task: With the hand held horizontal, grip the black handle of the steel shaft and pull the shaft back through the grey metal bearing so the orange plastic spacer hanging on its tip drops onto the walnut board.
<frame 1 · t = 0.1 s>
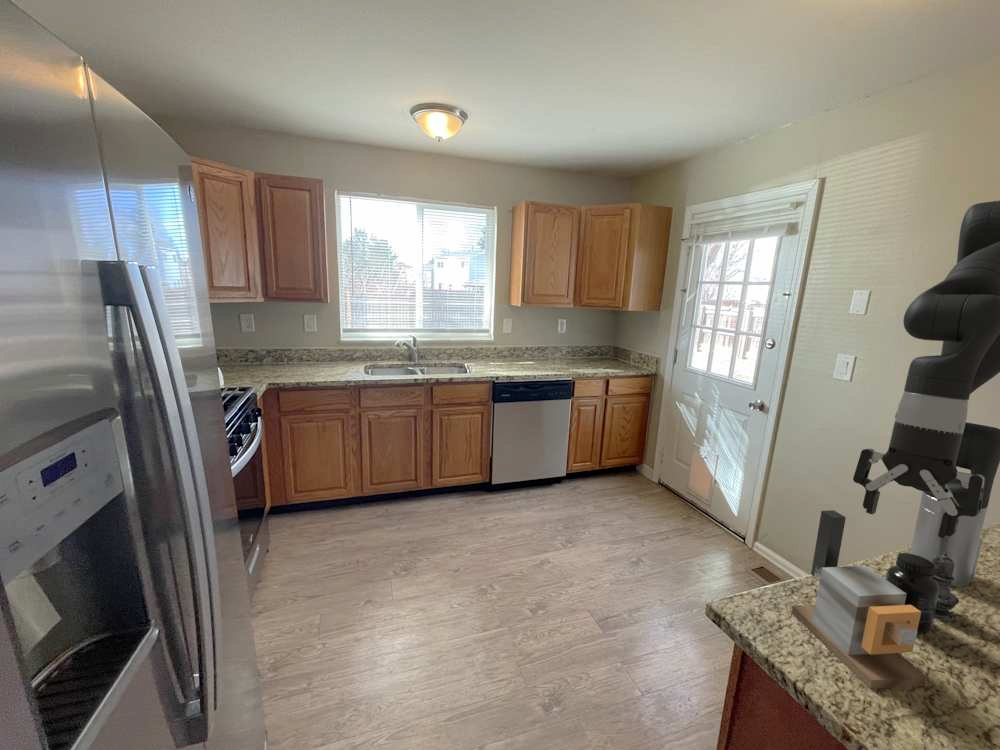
hand: (904, 524, 67), 22 cm above the countertop, tool pointing down, fingers open, 8 cm apart
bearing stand: (851, 645, 71), on the countertop
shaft: (863, 571, 69), point 14 cm above the countertop, slide at 0.0 cm, touching spacer
spacer: (886, 649, 65), point 4 cm above the countertop, touching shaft
supplement bottle: (904, 620, 77), on the countertop
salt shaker: (932, 610, 80), on the countertop
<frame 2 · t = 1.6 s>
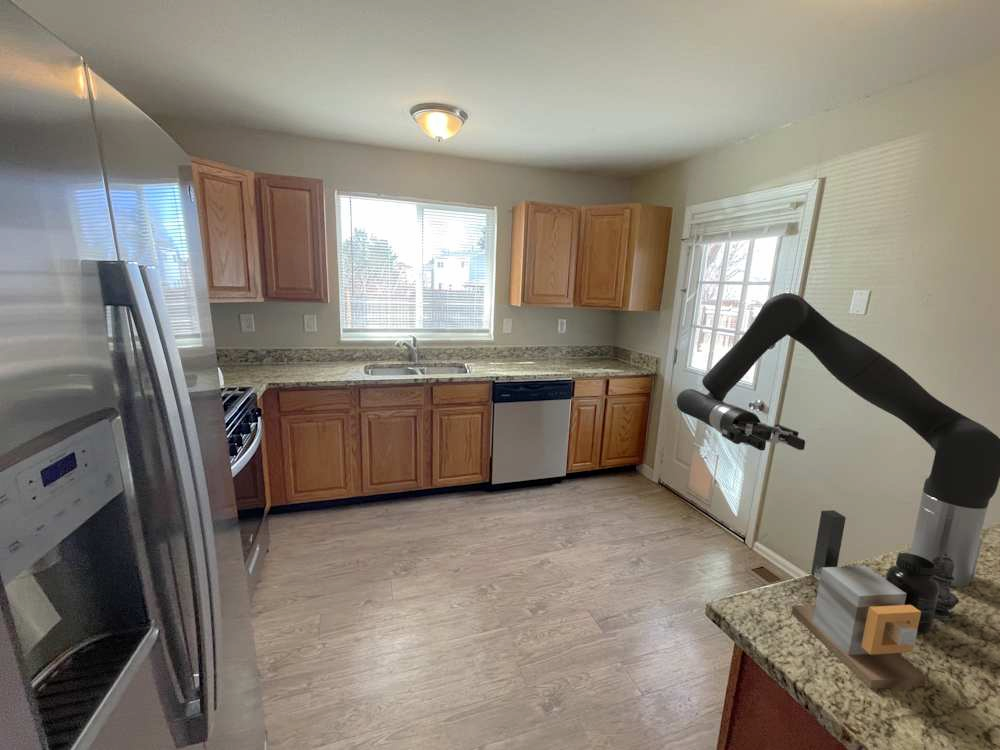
hand: (783, 445, 86), 28 cm above the countertop, tool horizontal, fingers open, 8 cm apart
nothing on the countertop moved.
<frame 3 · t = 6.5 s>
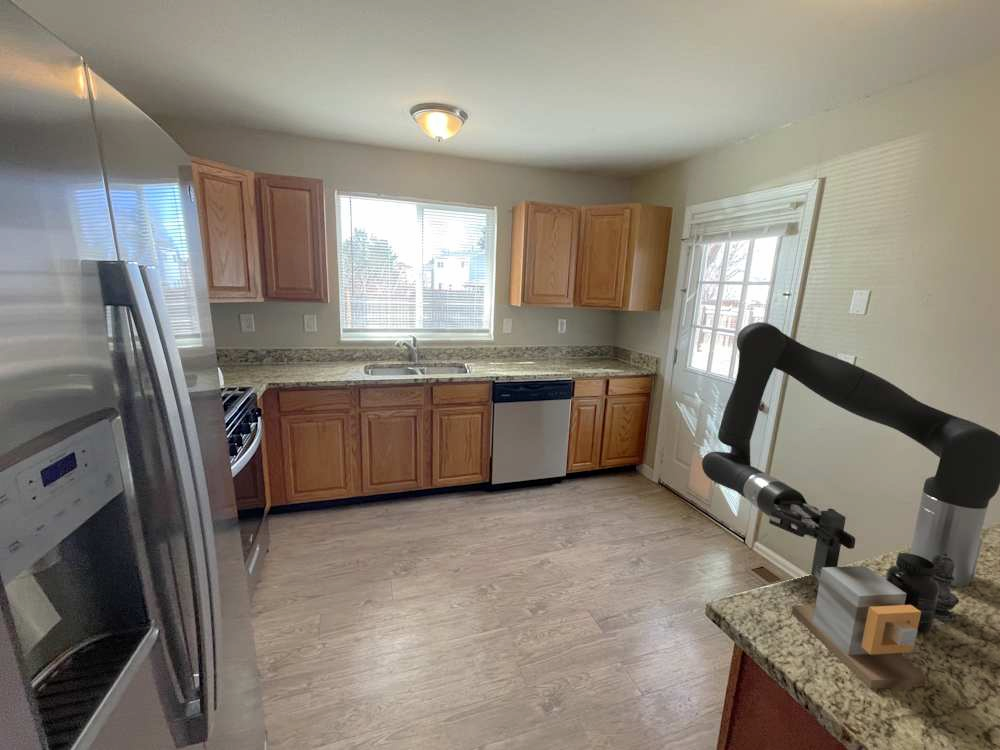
hand: (844, 544, 73), 16 cm above the countertop, tool horizontal, fingers closed on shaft, 2 cm apart
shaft: (863, 571, 69), point 14 cm above the countertop, slide at 0.0 cm, touching gripper, spacer
everything else where it was.
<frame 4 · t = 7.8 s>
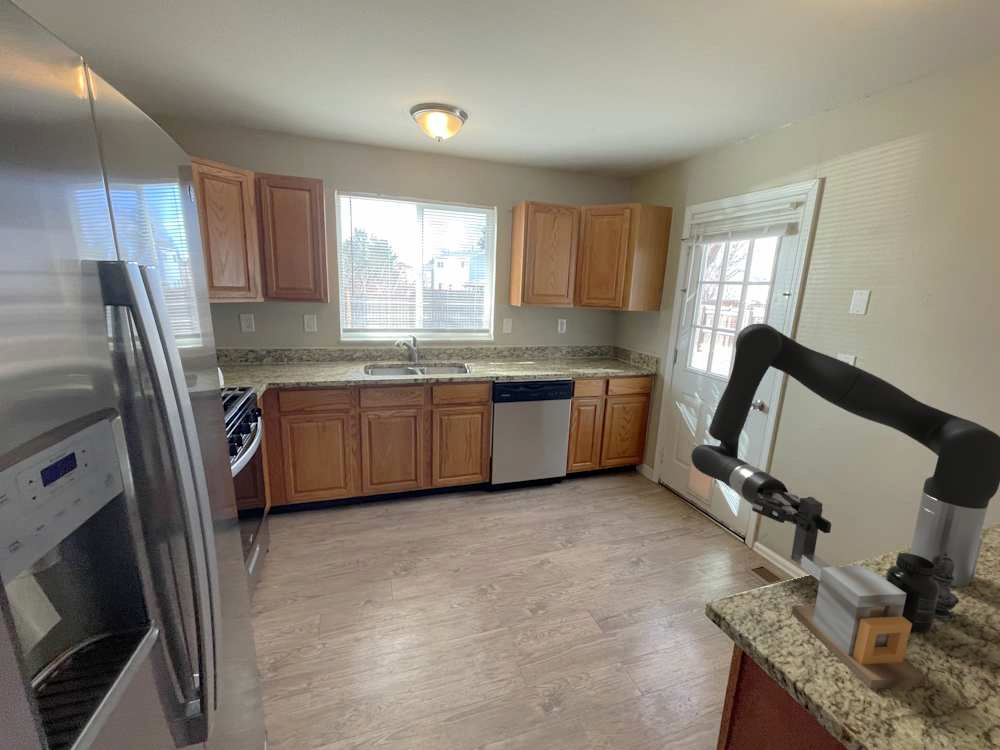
hand: (820, 528, 77), 16 cm above the countertop, tool horizontal, fingers closed on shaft, 2 cm apart
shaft: (837, 553, 74), point 14 cm above the countertop, slide at 4.9 cm, touching gripper
spacer: (877, 659, 67), point 1 cm above the countertop, touching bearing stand
everything else where it was.
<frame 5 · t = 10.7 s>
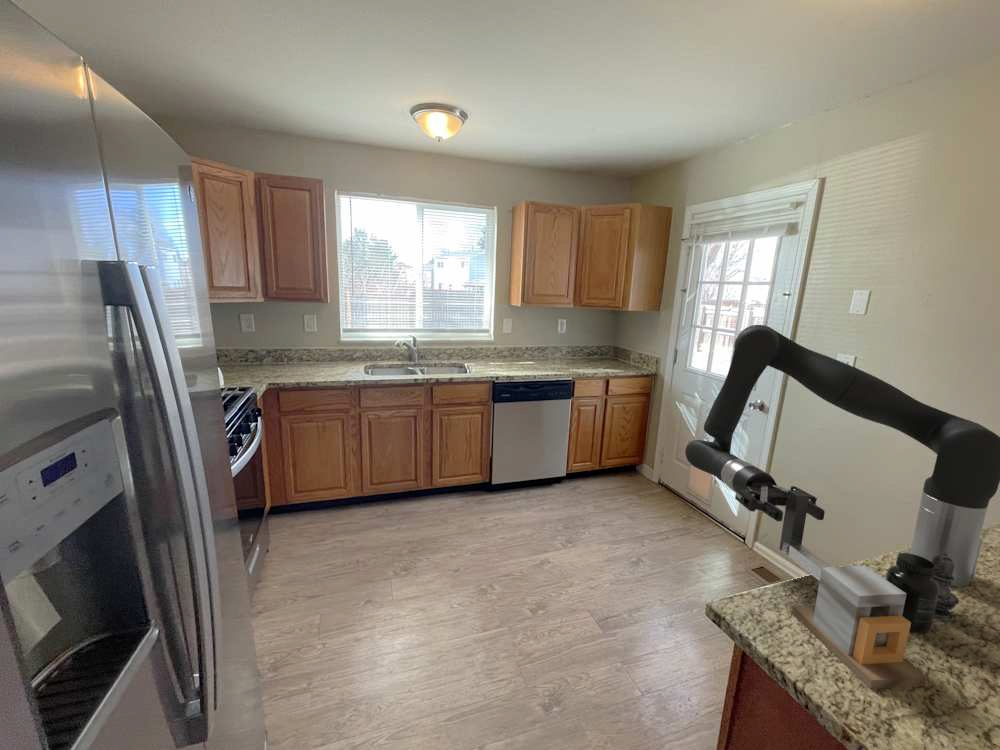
hand: (801, 516, 82), 16 cm above the countertop, tool horizontal, fingers open, 8 cm apart
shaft: (822, 543, 77), point 14 cm above the countertop, slide at 8.0 cm
everything else where it was.
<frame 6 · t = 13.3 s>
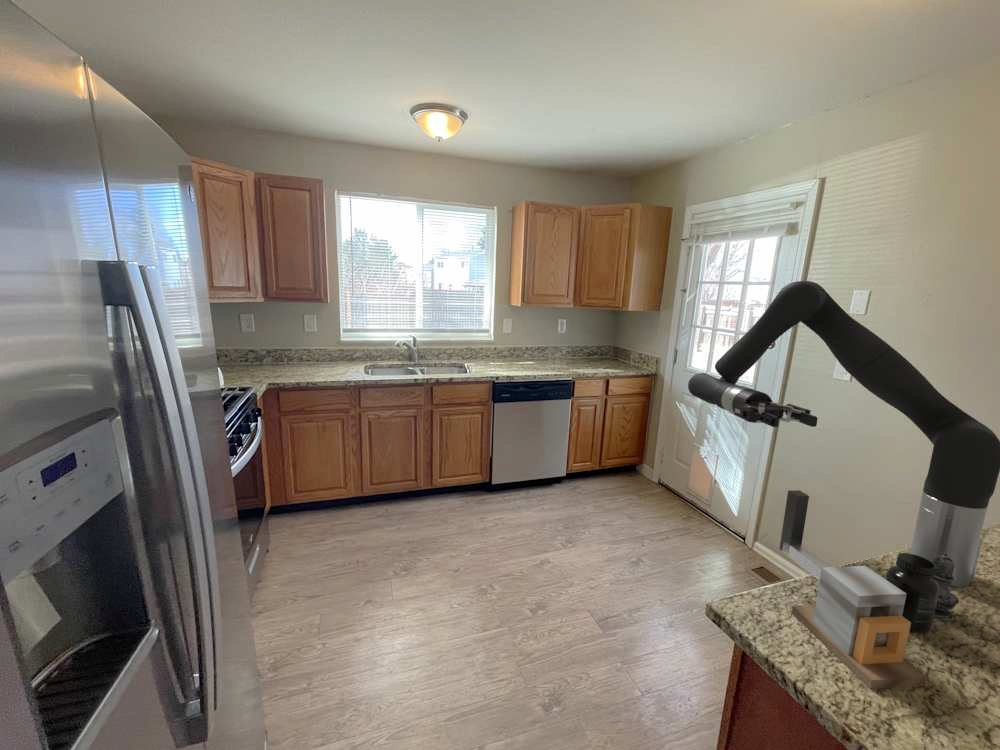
hand: (796, 422, 88), 32 cm above the countertop, tool horizontal, fingers open, 8 cm apart
nothing on the countertop moved.
at the end: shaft slide at 8.0 cm; spacer point 1.5 cm above the countertop; spacer touching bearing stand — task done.
